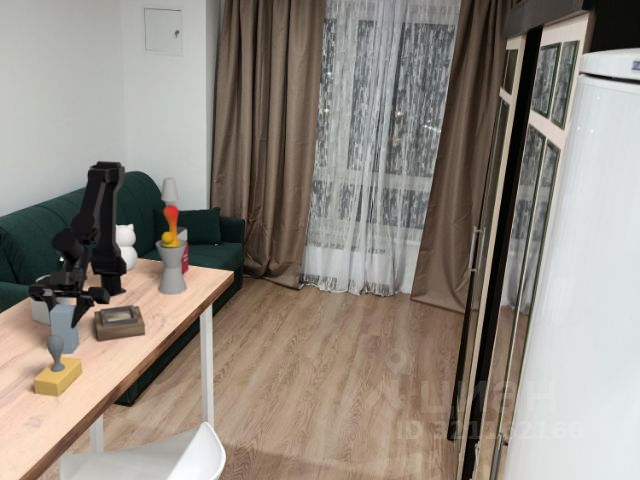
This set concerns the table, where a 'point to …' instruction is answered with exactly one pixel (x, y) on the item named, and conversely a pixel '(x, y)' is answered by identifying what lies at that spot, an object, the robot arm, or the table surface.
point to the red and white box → (184, 261)
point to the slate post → (64, 326)
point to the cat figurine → (126, 244)
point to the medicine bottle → (41, 308)
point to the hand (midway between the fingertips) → (62, 327)
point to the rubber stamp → (57, 370)
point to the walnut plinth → (119, 323)
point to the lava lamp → (171, 244)
